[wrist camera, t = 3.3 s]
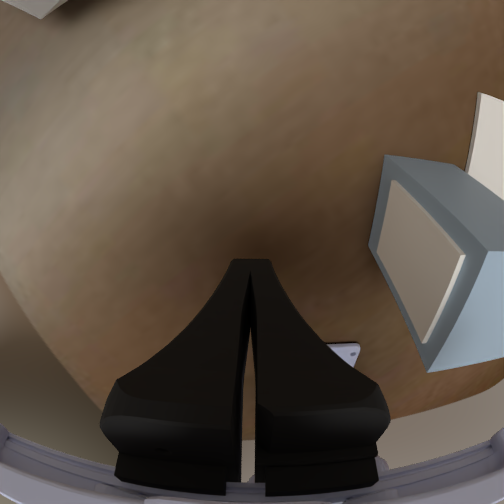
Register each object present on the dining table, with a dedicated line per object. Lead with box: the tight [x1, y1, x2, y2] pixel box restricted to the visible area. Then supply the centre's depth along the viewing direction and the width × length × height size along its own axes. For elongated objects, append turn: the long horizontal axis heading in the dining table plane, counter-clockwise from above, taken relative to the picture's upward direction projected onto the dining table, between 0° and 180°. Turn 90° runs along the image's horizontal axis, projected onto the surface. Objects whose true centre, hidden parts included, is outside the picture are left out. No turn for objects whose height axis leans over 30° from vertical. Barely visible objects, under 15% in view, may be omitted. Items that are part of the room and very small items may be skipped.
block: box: [368, 155, 504, 373], centre depth 14 cm, size 6×5×10 cm
